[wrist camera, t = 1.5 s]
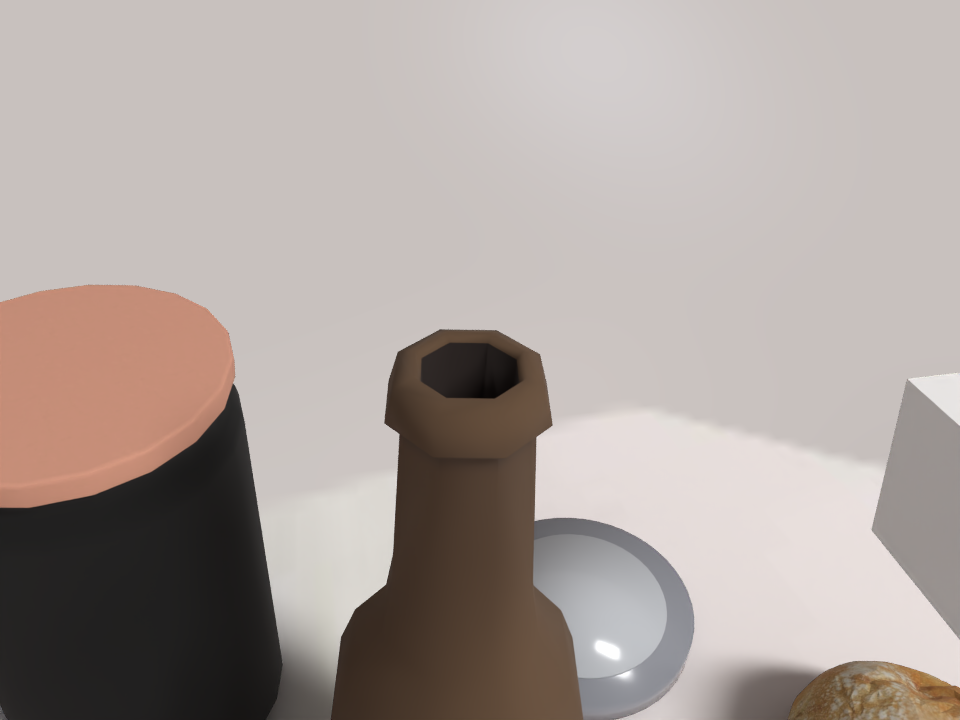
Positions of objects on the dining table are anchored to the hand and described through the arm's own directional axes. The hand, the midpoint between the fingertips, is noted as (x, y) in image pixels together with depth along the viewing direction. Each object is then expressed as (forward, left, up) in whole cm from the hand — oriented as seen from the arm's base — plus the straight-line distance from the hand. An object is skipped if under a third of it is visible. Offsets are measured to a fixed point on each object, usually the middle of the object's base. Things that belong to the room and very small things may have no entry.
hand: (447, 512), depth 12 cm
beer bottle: (+3, +6, -26) cm, 27 cm away
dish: (+13, +15, -26) cm, 32 cm away
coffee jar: (-6, +17, -26) cm, 32 cm away
